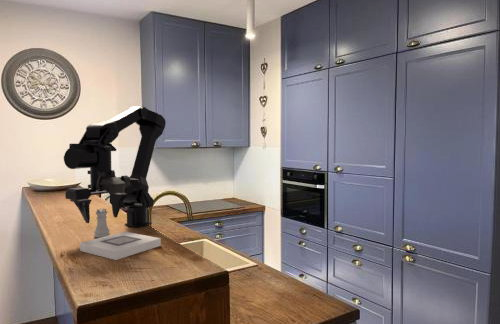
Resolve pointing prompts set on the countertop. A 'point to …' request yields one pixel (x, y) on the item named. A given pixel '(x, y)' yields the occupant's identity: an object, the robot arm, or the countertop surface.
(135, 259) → the countertop surface
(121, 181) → the robot arm
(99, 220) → the rook chess piece
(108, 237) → the socket block
